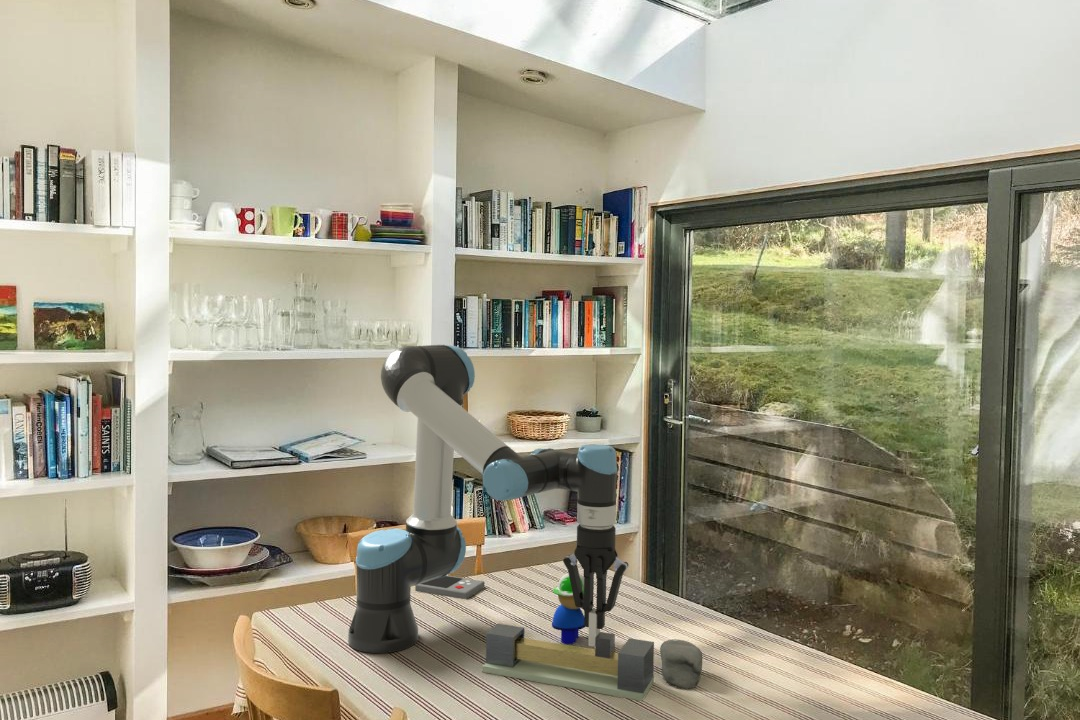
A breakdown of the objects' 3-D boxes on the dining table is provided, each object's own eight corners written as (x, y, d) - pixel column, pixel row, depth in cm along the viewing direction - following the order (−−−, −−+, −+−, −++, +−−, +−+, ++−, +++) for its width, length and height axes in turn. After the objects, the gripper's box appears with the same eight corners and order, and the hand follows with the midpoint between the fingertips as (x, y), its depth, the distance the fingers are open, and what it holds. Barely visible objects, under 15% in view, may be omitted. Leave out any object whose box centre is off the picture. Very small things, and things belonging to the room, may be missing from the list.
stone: (652, 685, 166) (658, 632, 170) (658, 689, 174) (663, 638, 178) (699, 692, 164) (703, 638, 167) (703, 696, 171) (707, 644, 175)
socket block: (617, 689, 162) (618, 652, 161) (628, 672, 169) (629, 638, 169) (643, 693, 160) (643, 657, 159) (653, 676, 167) (654, 641, 167)
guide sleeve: (485, 663, 173) (486, 633, 172) (497, 652, 178) (497, 623, 178) (512, 667, 171) (513, 637, 170) (524, 657, 176) (524, 627, 176)
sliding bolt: (502, 656, 173) (503, 623, 172) (509, 650, 176) (509, 617, 175) (637, 679, 163) (638, 644, 162) (641, 673, 166) (642, 638, 165)
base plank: (482, 671, 171) (482, 666, 171) (500, 655, 180) (500, 649, 180) (642, 700, 159) (642, 694, 159) (653, 681, 168) (653, 675, 168)
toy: (590, 648, 184) (591, 580, 183) (548, 644, 186) (549, 577, 185) (595, 633, 193) (596, 568, 192) (555, 630, 195) (556, 565, 194)
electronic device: (466, 591, 215) (414, 583, 221) (466, 601, 215) (414, 592, 221) (484, 580, 224) (435, 572, 230) (484, 589, 225) (435, 581, 230)
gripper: (558, 525, 165) (556, 645, 166) (623, 532, 160) (620, 656, 161) (571, 517, 172) (569, 632, 173) (633, 524, 167) (631, 642, 168)
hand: (594, 643), depth 167 cm, fingers closed
